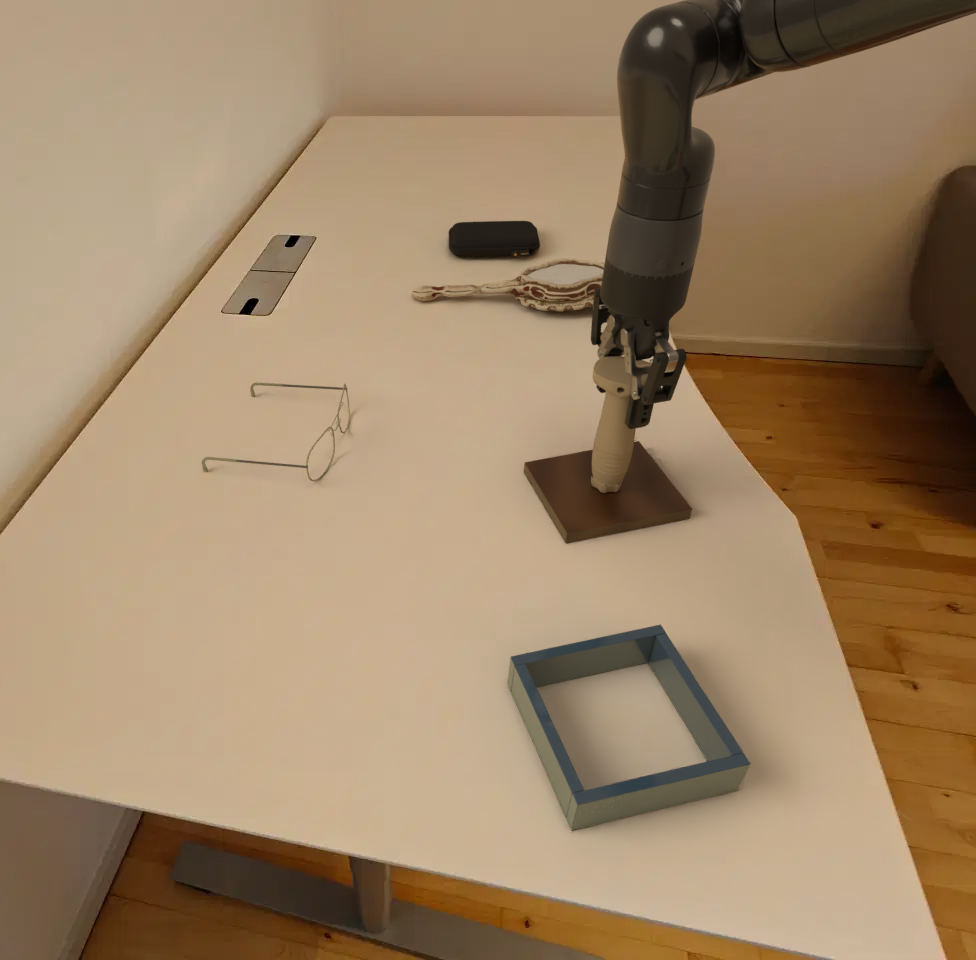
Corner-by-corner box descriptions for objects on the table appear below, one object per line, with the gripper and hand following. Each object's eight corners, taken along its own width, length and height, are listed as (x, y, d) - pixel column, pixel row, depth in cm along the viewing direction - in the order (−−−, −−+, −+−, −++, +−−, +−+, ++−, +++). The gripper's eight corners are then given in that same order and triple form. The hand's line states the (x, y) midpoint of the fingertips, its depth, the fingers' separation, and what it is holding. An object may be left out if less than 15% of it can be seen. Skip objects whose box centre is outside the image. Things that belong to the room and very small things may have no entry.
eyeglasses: (320, 490, 97) (317, 456, 93) (202, 471, 101) (195, 439, 97) (358, 409, 108) (356, 377, 105) (251, 395, 112) (246, 364, 109)
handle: (582, 465, 95) (600, 351, 85) (640, 479, 92) (666, 364, 82) (570, 491, 92) (588, 376, 82) (630, 506, 89) (656, 390, 79)
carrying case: (448, 264, 136) (541, 263, 135) (449, 247, 134) (542, 245, 133) (448, 236, 144) (535, 234, 143) (448, 219, 142) (536, 217, 141)
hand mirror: (414, 265, 132) (614, 251, 125) (417, 302, 134) (612, 289, 128) (406, 284, 122) (621, 269, 116) (409, 323, 125) (619, 311, 118)
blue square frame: (652, 651, 77) (660, 624, 74) (738, 790, 66) (751, 764, 64) (507, 683, 75) (510, 656, 73) (571, 830, 65) (577, 805, 62)
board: (636, 450, 98) (638, 440, 97) (689, 518, 89) (692, 508, 88) (523, 472, 97) (524, 462, 96) (565, 543, 88) (567, 533, 87)
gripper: (735, 283, 69) (692, 443, 80) (651, 215, 80) (623, 364, 91) (650, 297, 68) (618, 457, 79) (576, 226, 79) (557, 375, 90)
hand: (621, 406), depth 85 cm, fingers closed on handle, 6 cm apart
